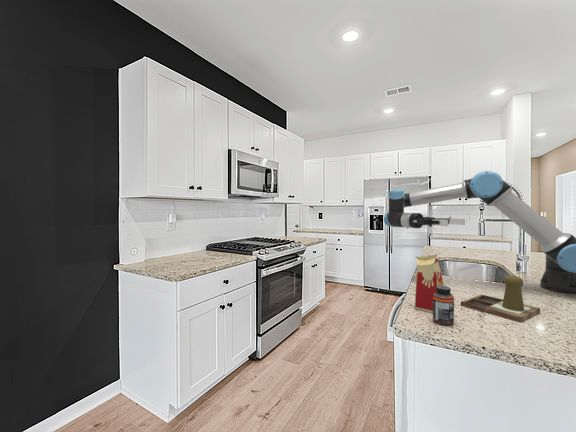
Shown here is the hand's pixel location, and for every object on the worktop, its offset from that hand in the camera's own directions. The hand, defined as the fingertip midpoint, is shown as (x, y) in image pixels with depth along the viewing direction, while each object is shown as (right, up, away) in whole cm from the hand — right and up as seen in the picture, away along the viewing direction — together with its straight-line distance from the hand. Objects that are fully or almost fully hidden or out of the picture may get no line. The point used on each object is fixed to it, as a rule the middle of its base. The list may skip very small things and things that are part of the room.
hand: (456, 222), depth 126 cm
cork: (+4, -29, -26) cm, 39 cm away
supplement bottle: (-24, -31, -34) cm, 52 cm away
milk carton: (-23, -31, -21) cm, 44 cm away
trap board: (+2, -31, -22) cm, 38 cm away
